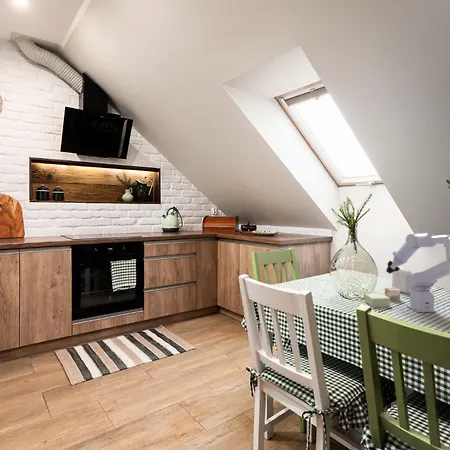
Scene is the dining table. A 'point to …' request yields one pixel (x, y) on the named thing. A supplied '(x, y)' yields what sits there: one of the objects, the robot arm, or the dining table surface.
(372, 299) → the sage base block
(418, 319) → the dining table surface
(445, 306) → the dining table surface
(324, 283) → the dining table surface
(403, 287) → the photo printer
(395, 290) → the cream cube
